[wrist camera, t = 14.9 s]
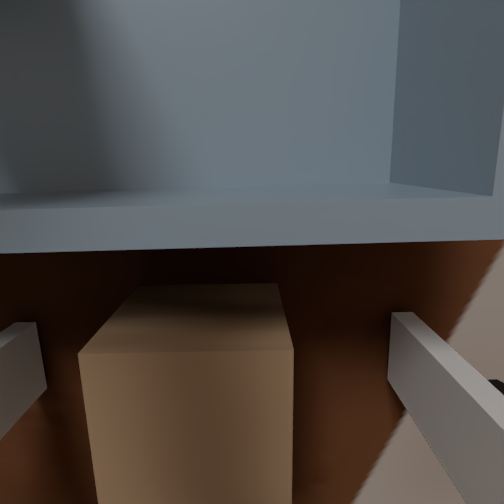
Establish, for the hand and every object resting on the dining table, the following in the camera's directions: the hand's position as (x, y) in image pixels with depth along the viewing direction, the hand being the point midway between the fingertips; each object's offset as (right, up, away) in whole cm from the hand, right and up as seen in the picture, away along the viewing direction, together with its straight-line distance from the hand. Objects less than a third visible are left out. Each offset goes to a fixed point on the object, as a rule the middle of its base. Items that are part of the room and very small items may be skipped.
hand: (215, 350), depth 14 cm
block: (0, 0, 0) cm, 0 cm away
